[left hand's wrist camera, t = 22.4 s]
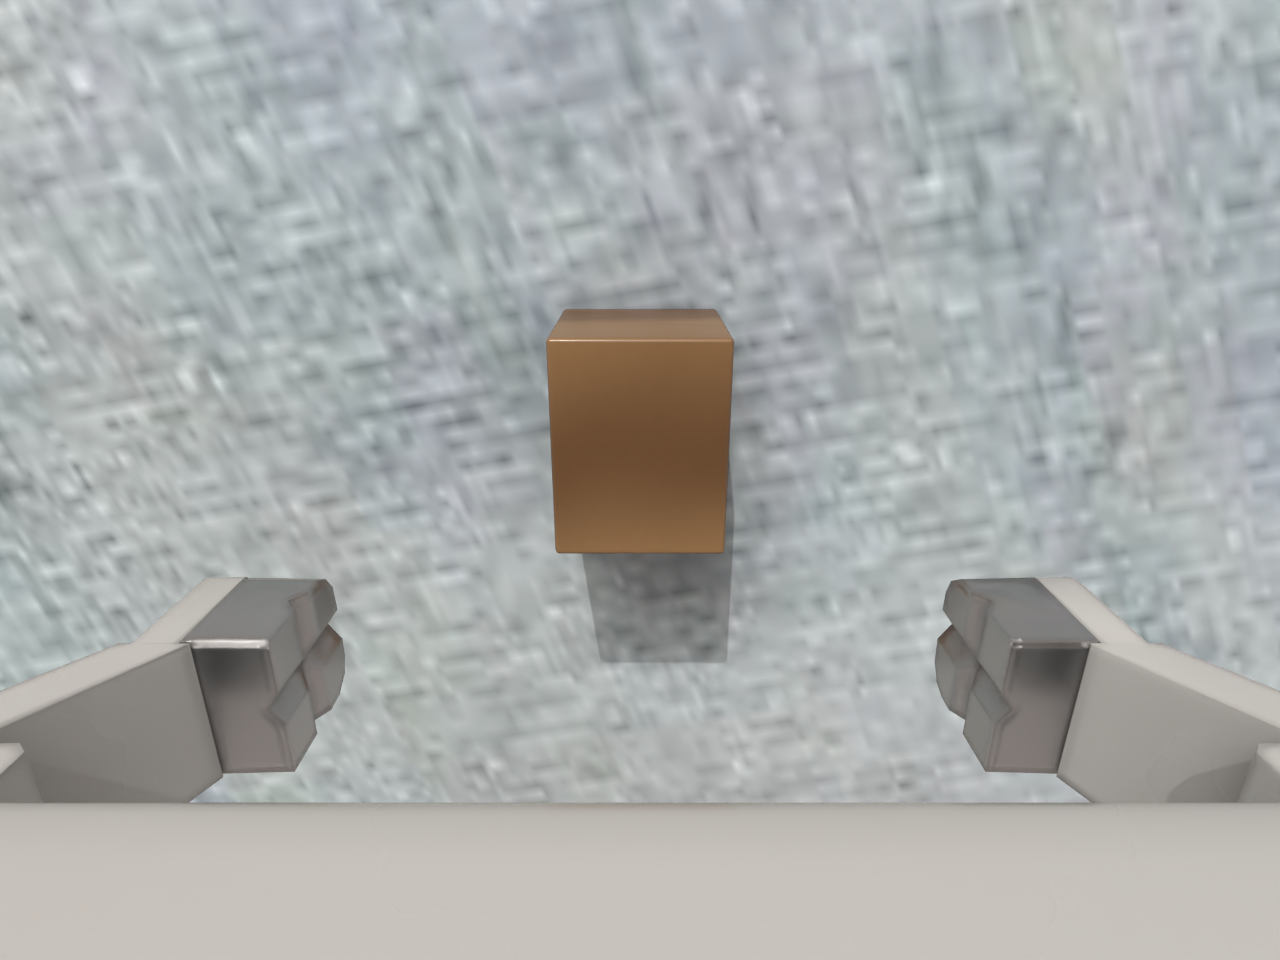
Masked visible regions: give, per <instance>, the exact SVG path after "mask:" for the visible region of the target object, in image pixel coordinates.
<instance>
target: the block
mask: <svg viewBox="0 0 1280 960" xmlns="http://www.w3.org/2000/svg"><path fill="white" fill-rule="evenodd" d="M546 348H547V370H548V392H549V414H550V436H551V458H552V481H553V503H554V525H555V547H556V551H557V553H723V551H724V548H725V526H726V505H727V483H728V461H729V440H730V418H731V397H732V375H733V354H734V341H733V338H732V337H731V335H730V333H729V332H728V330H727V328H726V326H725V325H724V323H723V321H722V320H721V318H720V316H719V314H718V313H717V311H716V310H714V309H566V310H564V312H563V313H562V315H561V317H560V319H559V320H558V322H557V324H556V325H555V327H554V329H553V330H552V332H551V334H550V335H549V337H548V339H547V341H546Z"/></svg>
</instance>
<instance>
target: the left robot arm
mask: <svg viewBox="0 0 1280 960" xmlns="http://www.w3.org/2000/svg"><path fill="white" fill-rule="evenodd" d="M336 611H337V606H336V601H335V596H334V591H333V587H332V586H331V585H330V584H329V583H328V581H327V580H326V579H289V578H247V577H227V578H208V579H203V580H202V581H201V582H200V583H199V584H198V585H197V586H196V587H194V588H193V589H192V590H191V591H190V592H189V593H188V594H187V595H185V596H184V597H183V598H182V599H181V600H180V601H179V602H178V603H177V604H175V605H174V606H173V607H172V608H171V609H170V610H169V611H168V612H167V613H165V614H164V615H163V616H162V617H161V618H160V619H159V620H158V621H156V622H155V623H154V624H153V625H152V626H151V627H150V628H149V629H148V630H146V631H145V632H144V633H143V634H142V635H141V636H140V637H139V638H138V639H136V640H135V641H134V642H133V643H119V644H117V645H114V646H112V647H109V648H107V649H104V650H102V651H99V652H97V653H94V654H92V655H89V656H87V657H84V658H82V659H79V660H76V661H74V662H71V663H69V664H66V665H64V666H61V667H59V668H56V669H54V670H51V671H49V672H46V673H44V674H41V675H39V676H36V677H34V678H31V679H29V680H26V681H24V682H21V683H19V684H16V685H14V686H11V687H9V688H6V689H4V690H1V691H0V960H1280V691H1278V690H1276V689H1273V688H1271V687H1268V686H1266V685H1263V684H1261V683H1258V682H1256V681H1253V680H1251V679H1248V678H1246V677H1243V676H1241V675H1238V674H1236V673H1233V672H1231V671H1228V670H1226V669H1223V668H1221V667H1218V666H1216V665H1213V664H1211V663H1208V662H1206V661H1203V660H1201V659H1198V658H1196V657H1193V656H1191V655H1188V654H1186V653H1183V652H1181V651H1178V650H1176V649H1173V648H1171V647H1168V646H1166V645H1163V644H1161V643H1147V642H1146V641H1145V640H1144V639H1143V638H1141V637H1140V636H1139V635H1138V634H1137V633H1136V632H1135V631H1134V630H1133V629H1131V628H1130V627H1129V626H1128V625H1127V624H1126V623H1125V622H1124V621H1123V620H1121V619H1120V618H1119V617H1118V616H1117V615H1116V614H1115V613H1114V612H1113V611H1111V610H1110V609H1109V608H1108V607H1107V606H1106V605H1105V604H1104V603H1103V602H1101V601H1100V600H1099V599H1098V598H1097V597H1096V596H1095V595H1094V594H1093V593H1091V592H1090V591H1089V590H1088V589H1087V588H1086V587H1085V586H1084V585H1083V584H1081V583H1080V582H1079V581H1078V580H1076V579H1073V578H1069V577H1051V578H998V579H960V580H954V581H951V583H950V585H949V587H948V589H947V591H946V594H945V600H944V605H943V611H944V612H945V614H946V615H947V617H948V619H949V620H950V622H951V623H952V625H951V626H950V627H949V628H948V629H947V630H946V631H945V632H944V633H943V634H942V635H941V636H940V637H939V638H938V640H937V648H936V656H935V668H936V679H937V684H938V687H939V690H940V693H941V696H942V698H943V700H944V702H945V704H946V705H947V707H948V709H949V710H950V711H952V712H953V713H955V714H957V715H958V716H960V717H961V718H963V719H965V724H964V730H963V735H964V736H965V738H966V740H967V741H968V743H969V745H970V746H971V748H972V750H973V751H974V753H975V755H976V757H977V758H978V760H979V762H980V763H981V765H982V767H983V768H984V770H985V772H1020V773H1057V777H1058V778H1059V779H1061V780H1062V781H1063V782H1065V783H1066V784H1067V785H1069V786H1070V787H1071V788H1073V789H1074V790H1075V791H1077V792H1078V793H1079V794H1081V795H1082V796H1083V797H1085V798H1086V799H1087V800H1089V801H1090V802H1092V803H189V802H190V801H191V800H193V799H194V798H195V797H197V796H198V795H200V794H201V793H202V792H204V791H205V790H206V789H208V788H209V787H210V786H212V785H213V784H214V783H216V782H217V781H218V780H220V779H221V778H222V777H223V773H259V772H295V770H296V768H297V767H298V765H299V763H300V762H301V760H302V758H303V757H304V755H305V753H306V752H307V750H308V748H309V747H310V745H311V743H312V741H313V740H314V738H315V736H316V735H317V730H316V724H315V719H317V718H319V717H320V716H322V715H323V714H325V713H327V712H328V711H330V710H331V709H332V707H333V705H334V704H335V702H336V700H337V698H338V696H339V694H340V690H341V686H342V682H343V678H344V674H345V653H344V647H343V640H342V638H341V637H340V636H339V635H338V634H337V633H336V632H335V631H334V630H333V629H332V628H331V627H330V626H329V625H328V623H329V622H330V620H331V619H332V617H333V615H334V614H335V612H336Z"/></svg>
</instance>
